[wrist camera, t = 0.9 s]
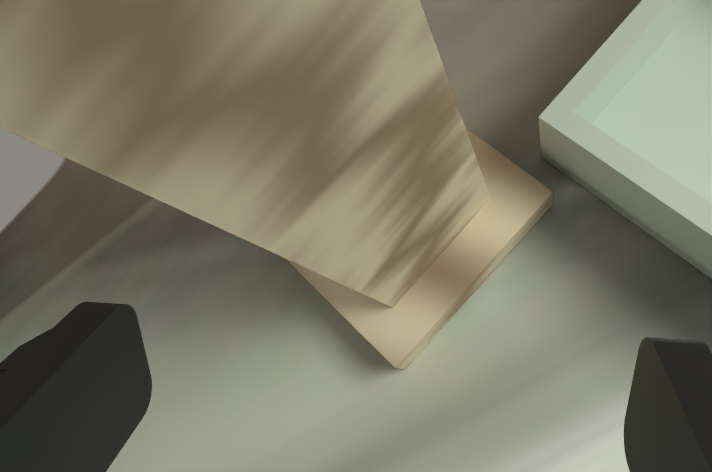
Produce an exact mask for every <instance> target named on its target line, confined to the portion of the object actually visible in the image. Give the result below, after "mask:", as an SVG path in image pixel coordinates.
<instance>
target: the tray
mask: <svg viewBox="0 0 712 472" xmlns="http://www.w3.org/2000/svg"><path fill="white" fill-rule="evenodd" d="M538 118H539V132H540V147H541V157H542V158H543V159H544V160H546V161H547V162H549V163H550V164H551V165H553V166H554V167H556V168H557V169H558V170H560V171H561V172H563V173H564V174H565V175H567V176H568V177H569V178H571V179H572V180H574V181H575V182H576V183H578V184H579V185H581V186H582V187H583V188H585V189H586V190H588V191H589V192H590V193H592V194H593V195H595V196H596V197H597V198H599V199H600V200H602V201H603V202H604V203H606V204H607V205H609V206H610V207H611V208H613V209H614V210H616V211H617V212H618V213H620V214H621V215H623V216H624V217H625V218H627V219H628V220H630V221H631V222H632V223H634V224H635V225H637V226H638V227H639V228H641V229H642V230H644V231H645V232H646V233H648V234H649V235H651V236H652V237H653V238H655V239H656V240H658V241H659V242H660V243H662V244H663V245H665V246H666V247H667V248H669V249H670V250H672V251H673V252H674V253H676V254H677V255H679V256H680V257H681V258H683V259H684V260H686V261H687V262H688V263H690V264H691V265H693V266H694V267H695V268H697V269H698V270H700V271H701V272H702V273H704V274H705V275H707V276H708V277H709V278H711V279H712V0H642V1H641V2H640V3H639V4H638V5H637V6H636V8H635V9H634V10H633V11H632V12H631V13H630V14H629V15H628V17H627V18H626V19H625V20H624V21H623V22H622V23H621V24H620V26H619V27H618V28H617V29H616V30H615V31H614V32H613V33H612V35H611V36H610V37H609V38H608V39H607V40H606V41H605V42H604V44H603V45H602V46H601V47H600V48H599V49H598V50H597V51H596V53H595V54H594V55H593V56H592V57H591V58H590V59H589V61H588V62H587V63H586V64H585V65H584V66H583V67H582V68H581V70H580V71H579V72H578V73H577V74H576V75H575V76H574V77H573V79H572V80H571V81H570V82H569V83H568V84H567V85H566V86H565V88H564V89H563V90H562V91H561V92H560V93H559V94H558V95H557V97H556V98H555V99H554V100H553V101H552V102H551V103H550V104H549V106H548V107H547V108H546V109H545V110H544V111H543V112H542V113H541V115H540V116H539V117H538Z"/></svg>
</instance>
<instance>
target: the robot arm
mask: <svg viewBox="0 0 712 472" xmlns="http://www.w3.org/2000/svg"><path fill="white" fill-rule="evenodd" d="M151 391H152V380H151V375H150V370H149V366H148V362H147V357H146V353H145V349H144V344H143V340H142V336H141V332H140V327H139V323H138V319H137V315H136V313H135V311H134V309H133V308H132V307H131V306H130V305H127V304H112V303H96V302H83V303H81V304H79V305H77V306H76V307H75V308H74V309H73V310H72V311H71V312H70V313H69V314H68V315H66V316H65V317H64V318H63V319H62V320H61V321H60V322H59V323H58V324H57V325H56V326H55V327H54V328H52V329H50V330H48V331H46V332H45V333H43V334H41V335H39V336H37V337H36V338H34V339H32V340H30V341H28V342H27V343H25V344H23V345H21V346H19V347H18V348H17V349H16V350H15V351H13V352H12V353H11V354H10V355H9V356H8V357H7V358H6V359H5V360H4V361H2V362H1V363H0V472H106V471H107V469H108V468H109V466H110V465H111V463H112V462H113V460H114V459H115V458H116V456H117V455H118V453H119V452H120V450H121V449H122V447H123V446H124V444H125V443H126V441H127V440H128V439H129V437H130V436H131V434H132V433H133V431H134V430H135V428H136V427H137V425H138V424H139V422H140V421H141V420H142V418H143V416H144V415H145V413H146V411H147V408H148V406H149V402H150V398H151ZM624 446H625V454H626V460H627V464H628V467H629V470H630V472H712V353H711V351H710V349H709V348H708V346H707V345H706V344H705V343H704V342H703V341H697V340H681V339H664V338H648V337H646V338H644V339H643V340H642V342H641V344H640V347H639V351H638V356H637V361H636V366H635V371H634V376H633V381H632V386H631V391H630V396H629V401H628V406H627V411H626V416H625V423H624Z"/></svg>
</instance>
